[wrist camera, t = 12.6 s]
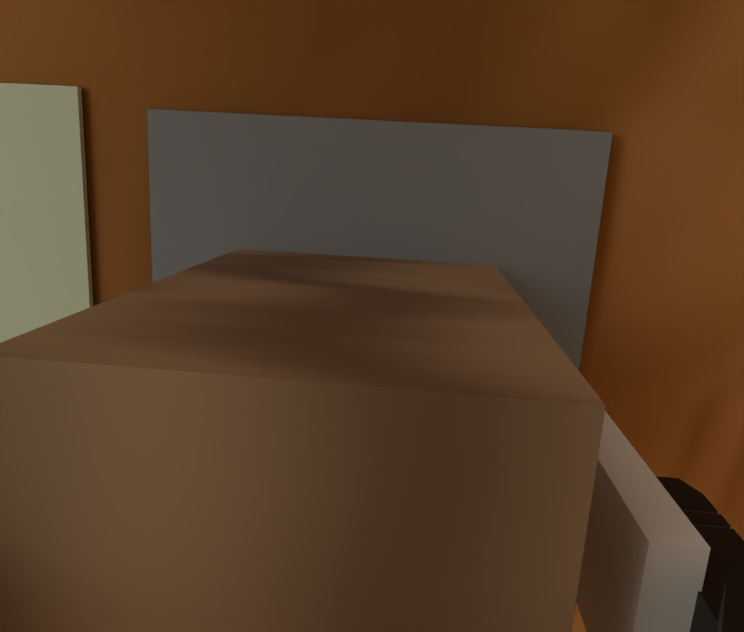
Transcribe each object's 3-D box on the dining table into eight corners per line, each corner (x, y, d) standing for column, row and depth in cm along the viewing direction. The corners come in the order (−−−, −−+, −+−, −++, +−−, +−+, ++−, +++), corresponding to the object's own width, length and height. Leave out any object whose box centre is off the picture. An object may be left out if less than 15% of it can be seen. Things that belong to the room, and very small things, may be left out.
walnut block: (237, 480, 18) (21, 833, 8) (238, 248, 16) (-29, 354, 7) (471, 502, 18) (529, 903, 8) (495, 266, 16) (606, 405, 6)
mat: (166, 564, 19) (161, 572, 19) (153, 110, 16) (147, 109, 16) (542, 603, 19) (544, 612, 18) (608, 132, 15) (612, 131, 15)
